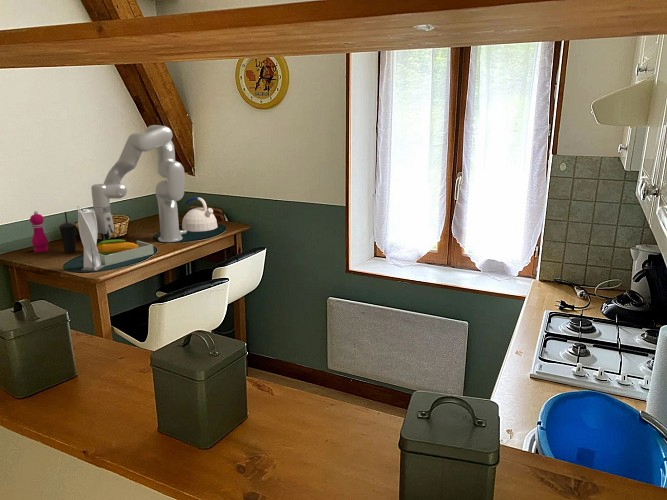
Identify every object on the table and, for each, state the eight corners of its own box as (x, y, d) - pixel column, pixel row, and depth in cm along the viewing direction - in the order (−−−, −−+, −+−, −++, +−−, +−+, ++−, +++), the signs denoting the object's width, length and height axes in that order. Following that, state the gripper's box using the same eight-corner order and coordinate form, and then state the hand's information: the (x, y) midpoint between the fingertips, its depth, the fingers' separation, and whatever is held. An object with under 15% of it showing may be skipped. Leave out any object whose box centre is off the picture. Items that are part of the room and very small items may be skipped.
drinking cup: (76, 253, 272) (71, 213, 267) (59, 254, 271) (54, 213, 266) (80, 249, 279) (75, 210, 274) (64, 249, 278) (59, 210, 273)
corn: (95, 238, 270) (138, 235, 274) (97, 252, 273) (140, 250, 277) (92, 242, 263) (137, 240, 268) (94, 258, 266) (138, 255, 270)
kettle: (200, 233, 312) (198, 201, 307) (174, 229, 322) (172, 198, 317) (225, 226, 328) (223, 196, 323) (199, 222, 339) (197, 193, 334)
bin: (138, 249, 279) (137, 240, 278) (153, 253, 272) (153, 244, 271) (90, 260, 260) (89, 251, 259) (105, 265, 253) (104, 256, 251)
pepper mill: (41, 253, 272) (35, 213, 267) (29, 251, 275) (23, 212, 269) (52, 249, 279) (47, 210, 273) (41, 248, 281) (36, 209, 276)
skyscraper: (78, 269, 247) (70, 207, 239) (89, 264, 255) (81, 204, 247) (95, 270, 246) (88, 208, 238) (106, 265, 253) (99, 204, 246)
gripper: (117, 210, 268) (121, 247, 273) (101, 206, 277) (104, 242, 281) (103, 213, 262) (107, 250, 267) (86, 209, 271) (90, 245, 276)
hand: (105, 246), depth 274 cm, fingers closed
